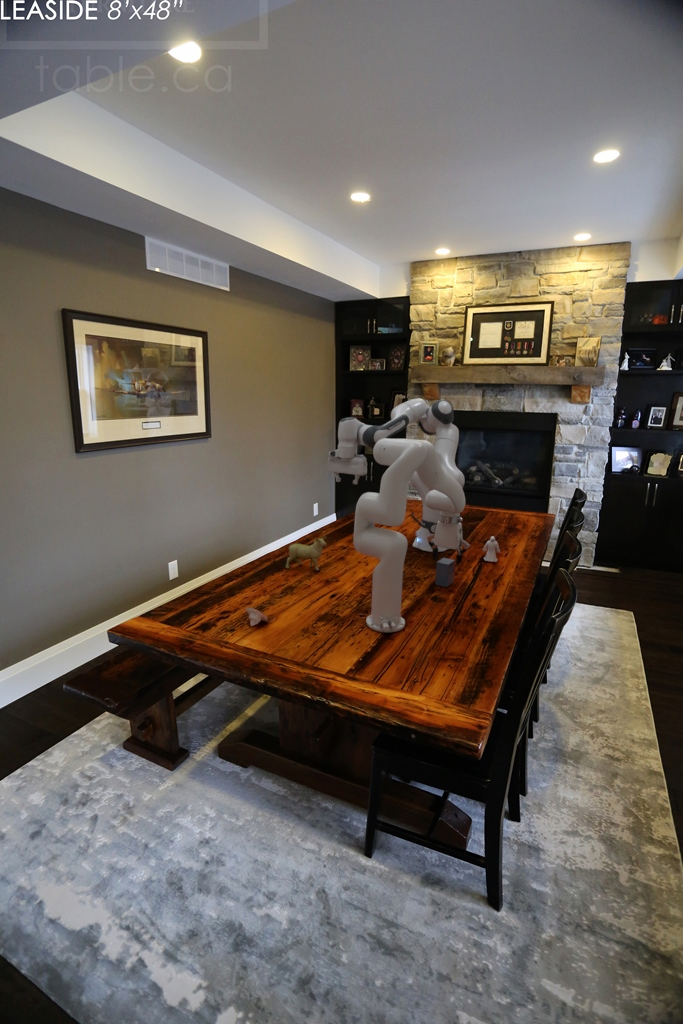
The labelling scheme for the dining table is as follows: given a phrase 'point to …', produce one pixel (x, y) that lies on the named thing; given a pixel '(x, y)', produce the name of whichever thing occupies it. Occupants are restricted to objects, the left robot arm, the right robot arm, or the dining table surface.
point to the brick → (445, 572)
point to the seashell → (255, 616)
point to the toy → (306, 552)
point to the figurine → (491, 550)
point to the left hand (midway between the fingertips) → (446, 561)
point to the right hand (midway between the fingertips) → (346, 482)
